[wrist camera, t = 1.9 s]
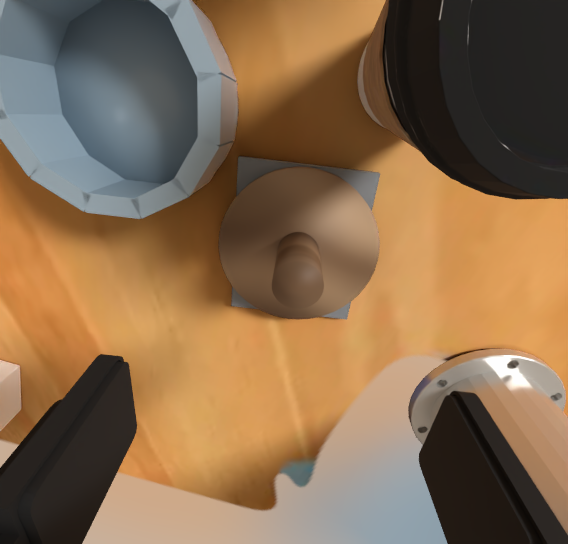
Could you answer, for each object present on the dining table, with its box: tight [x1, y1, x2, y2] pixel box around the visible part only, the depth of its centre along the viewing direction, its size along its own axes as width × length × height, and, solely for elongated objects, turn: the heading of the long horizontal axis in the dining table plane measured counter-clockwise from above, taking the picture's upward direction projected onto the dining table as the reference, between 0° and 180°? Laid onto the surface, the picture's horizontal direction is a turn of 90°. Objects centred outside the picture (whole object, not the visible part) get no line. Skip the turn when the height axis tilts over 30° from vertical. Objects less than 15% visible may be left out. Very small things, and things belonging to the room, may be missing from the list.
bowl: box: [0, 0, 239, 219], centre depth 18 cm, size 12×12×5 cm
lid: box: [219, 167, 380, 319], centre depth 20 cm, size 11×11×6 cm
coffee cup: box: [357, 0, 568, 199], centre depth 12 cm, size 8×8×15 cm
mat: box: [231, 156, 380, 319], centre depth 23 cm, size 11×9×1 cm
